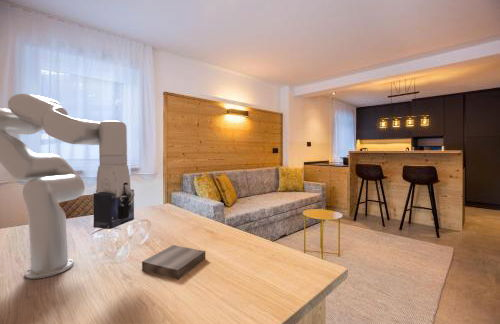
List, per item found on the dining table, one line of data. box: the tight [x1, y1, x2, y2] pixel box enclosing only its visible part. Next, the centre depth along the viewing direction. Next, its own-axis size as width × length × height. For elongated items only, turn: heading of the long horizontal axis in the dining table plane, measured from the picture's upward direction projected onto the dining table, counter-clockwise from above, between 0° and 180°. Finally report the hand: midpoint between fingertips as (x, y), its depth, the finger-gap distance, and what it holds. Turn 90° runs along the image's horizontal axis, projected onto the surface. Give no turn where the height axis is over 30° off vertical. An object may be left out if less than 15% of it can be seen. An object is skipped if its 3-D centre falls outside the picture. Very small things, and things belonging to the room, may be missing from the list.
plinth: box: [141, 244, 206, 280], centre depth 83 cm, size 15×15×3 cm
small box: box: [92, 188, 135, 230], centre depth 75 cm, size 11×6×10 cm, turn 168°
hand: (115, 216), depth 75 cm, fingers closed on small box, 7 cm apart
